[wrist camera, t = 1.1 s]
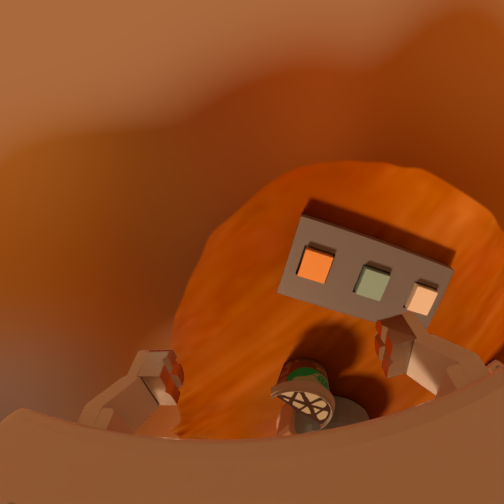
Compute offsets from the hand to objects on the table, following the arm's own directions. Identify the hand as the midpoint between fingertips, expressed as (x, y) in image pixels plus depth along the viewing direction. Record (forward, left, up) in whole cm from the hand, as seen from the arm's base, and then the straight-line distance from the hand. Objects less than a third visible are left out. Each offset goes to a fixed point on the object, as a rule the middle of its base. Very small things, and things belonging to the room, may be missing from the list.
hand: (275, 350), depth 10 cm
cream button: (-21, +5, -31) cm, 38 cm away
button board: (-12, +5, -33) cm, 36 cm away
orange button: (-3, +5, -31) cm, 31 cm away
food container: (-10, +25, -33) cm, 43 cm away
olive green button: (-12, +5, -31) cm, 34 cm away
